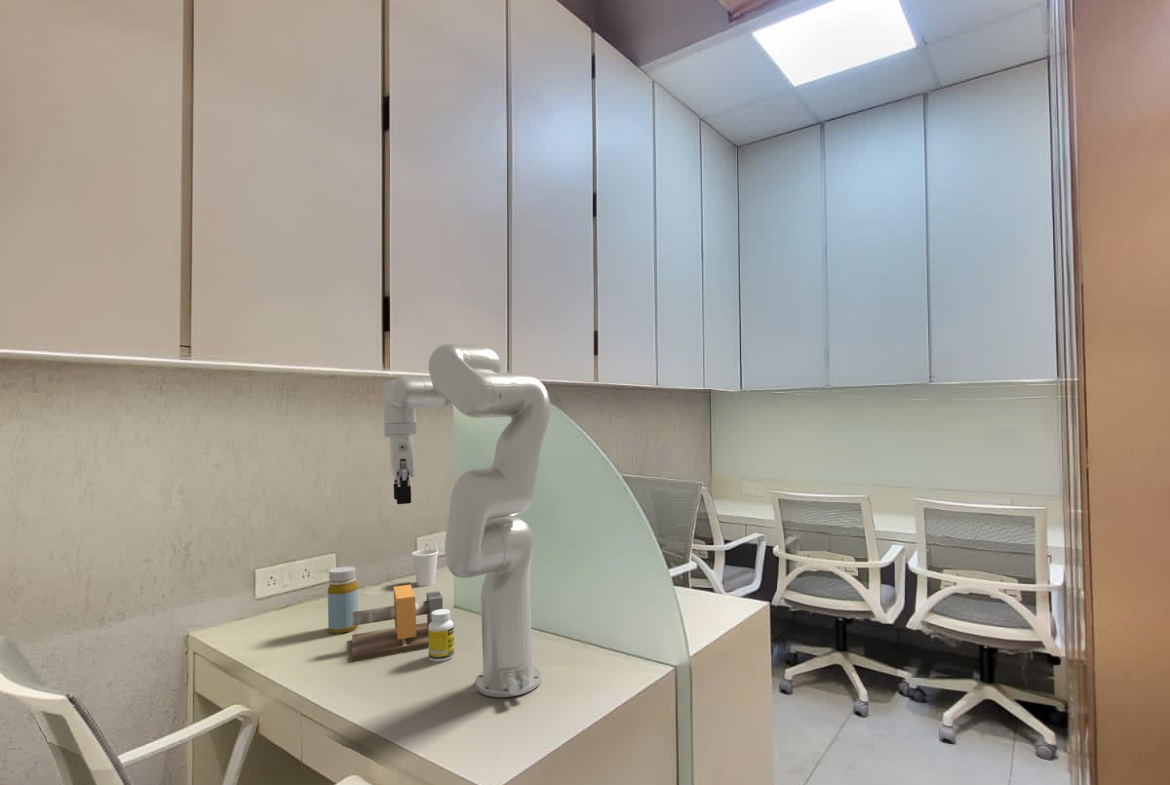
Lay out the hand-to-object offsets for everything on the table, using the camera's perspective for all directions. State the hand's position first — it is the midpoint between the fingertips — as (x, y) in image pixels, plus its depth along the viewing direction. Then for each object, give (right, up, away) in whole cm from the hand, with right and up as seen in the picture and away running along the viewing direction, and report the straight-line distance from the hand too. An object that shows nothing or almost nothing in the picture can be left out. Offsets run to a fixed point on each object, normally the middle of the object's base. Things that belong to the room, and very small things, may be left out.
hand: (402, 501), depth 142 cm
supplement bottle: (+13, -31, -15) cm, 37 cm away
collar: (+2, -30, -4) cm, 30 cm away
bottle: (-16, -34, +5) cm, 38 cm away
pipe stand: (+1, -32, -5) cm, 33 cm away
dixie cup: (-6, -35, +45) cm, 57 cm away
